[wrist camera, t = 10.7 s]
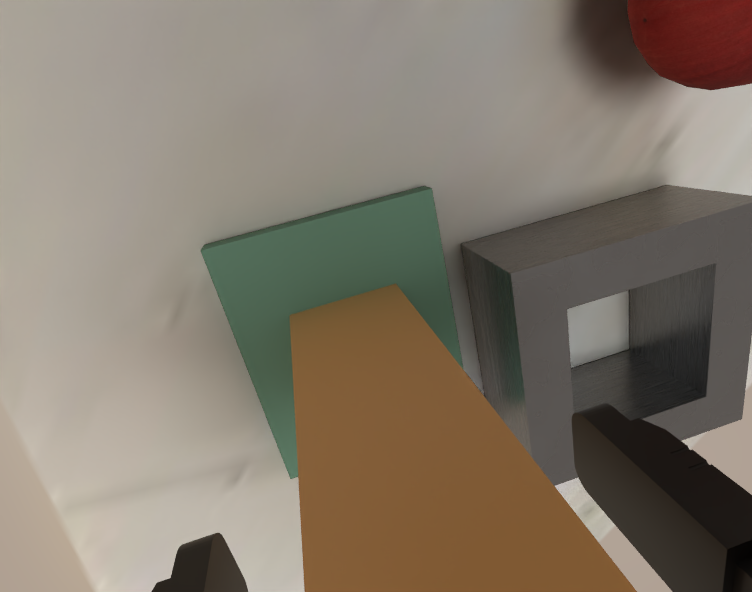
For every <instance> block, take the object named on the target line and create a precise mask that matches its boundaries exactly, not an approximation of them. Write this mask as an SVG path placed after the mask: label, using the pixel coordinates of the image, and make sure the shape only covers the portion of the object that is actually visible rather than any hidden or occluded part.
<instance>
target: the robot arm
mask: <svg viewBox="0 0 752 592" xmlns="http://www.w3.org/2000/svg"><path fill="white" fill-rule="evenodd" d="M572 436H573V450H574V464H575V469H576V472H577V475H578V477H579V479H580V481H581V483H582V485H583V487H584V488H585V490H586V491H587V492H588V494H589V495H590V496H591V497H592V498H593V500H594V501H595V502H596V503H597V504H598V505H599V507H600V508H601V509H602V510H603V511H604V512H605V513H606V515H607V516H608V517H609V518H610V519H611V520H612V522H613V523H614V524H615V525H616V526H617V527H618V529H619V530H620V531H621V532H622V533H623V534H624V535H625V537H626V538H627V539H628V540H629V541H630V543H631V544H632V545H633V546H634V547H635V548H636V549H637V551H638V552H639V553H640V554H641V555H642V556H643V558H644V559H645V560H646V561H647V562H648V563H649V565H650V566H651V567H652V568H653V569H654V570H655V572H656V573H657V574H658V575H659V576H660V577H661V578H662V580H663V581H664V582H665V583H666V584H667V585H668V587H669V588H670V589H671V590H672V591H673V592H752V495H751V494H750V493H748V492H747V491H746V490H744V489H743V488H742V487H740V486H739V485H738V484H737V483H735V482H734V481H733V480H731V479H730V478H729V477H727V476H726V475H725V474H723V473H722V472H721V471H720V470H718V469H717V468H716V467H714V466H713V465H709V464H708V463H707V461H706V460H705V459H704V458H702V457H701V456H700V455H699V454H697V453H696V452H695V451H693V450H689V448H688V446H687V445H685V444H684V443H683V442H682V441H680V440H679V439H678V438H676V437H675V436H674V435H672V434H671V433H670V432H668V431H667V430H666V429H664V428H661V427H659V426H656V425H654V424H652V423H649V422H647V421H645V420H642V419H640V418H637V419H634V420H631V421H630V420H629V419H628V418H626V417H625V416H624V415H623V414H621V413H620V412H619V411H618V410H617V409H615V408H614V407H613V406H611V405H609V404H607V403H603V404H600V405H597V406H594V407H592V408H589V409H586V410H583V411H580V412H577V413H574V414H573V415H572ZM152 592H248V589H247V585H246V582H245V579H244V577H243V575H242V573H241V571H240V569H239V567H238V565H237V563H236V561H235V559H234V557H233V555H232V553H231V551H230V549H229V547H228V545H227V543H226V541H225V539H224V538H223V536H222V535H221V534H220V533H215V534H212V535H209V536H206V537H203V538H200V539H197V540H194V541H192V542H189V543H186V544H183V545H181V546H180V547H179V549H178V551H177V554H176V558H175V562H174V567H173V571H172V575H171V578H170V579H167V580H164V581H161V582H158V583H157V584H156V585H155V587H154V589H153V590H152Z"/></svg>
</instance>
